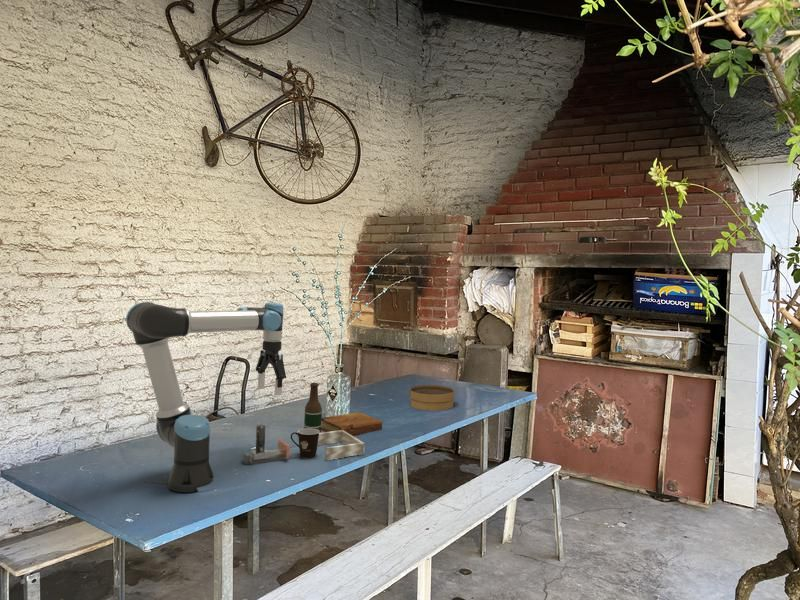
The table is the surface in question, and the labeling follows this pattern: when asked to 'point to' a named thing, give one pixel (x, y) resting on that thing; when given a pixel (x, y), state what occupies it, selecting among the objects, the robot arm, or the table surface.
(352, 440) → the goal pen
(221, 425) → the table surface
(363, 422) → the diary
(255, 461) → the rail
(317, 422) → the beer bottle
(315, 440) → the coffee mug
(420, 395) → the sieve
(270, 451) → the rod carriage
